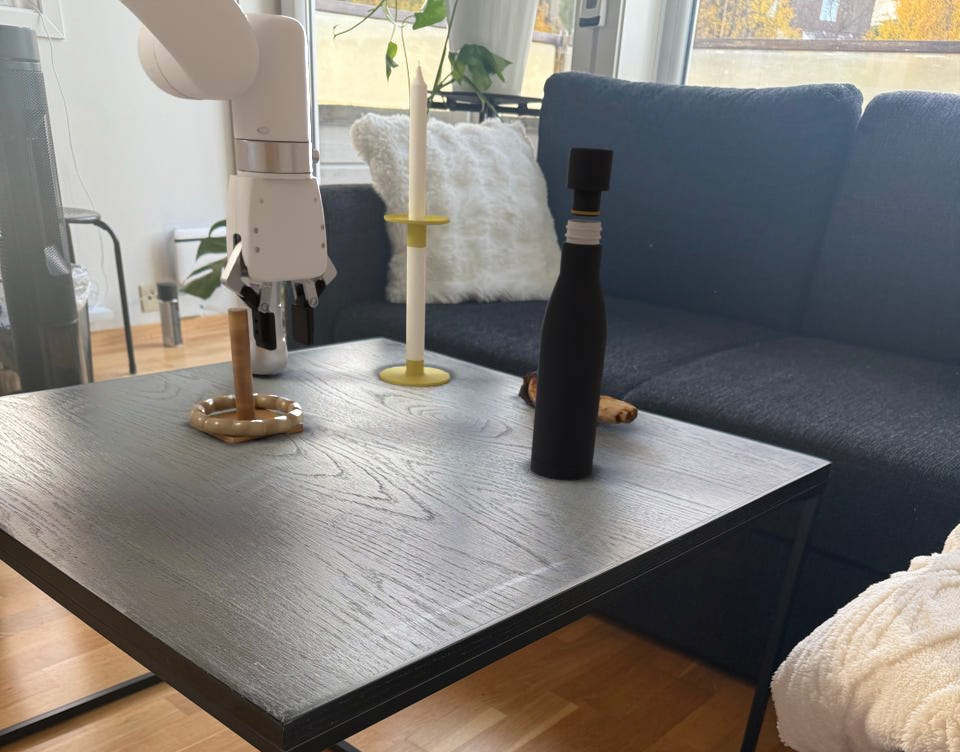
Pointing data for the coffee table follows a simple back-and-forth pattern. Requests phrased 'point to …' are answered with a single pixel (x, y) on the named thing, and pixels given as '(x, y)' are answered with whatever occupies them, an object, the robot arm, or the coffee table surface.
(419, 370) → the candle
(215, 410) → the ring
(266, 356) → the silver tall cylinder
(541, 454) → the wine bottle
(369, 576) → the coffee table surface
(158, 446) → the coffee table surface
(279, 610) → the coffee table surface
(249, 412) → the stand
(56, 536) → the coffee table surface
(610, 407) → the brown oblong lump
